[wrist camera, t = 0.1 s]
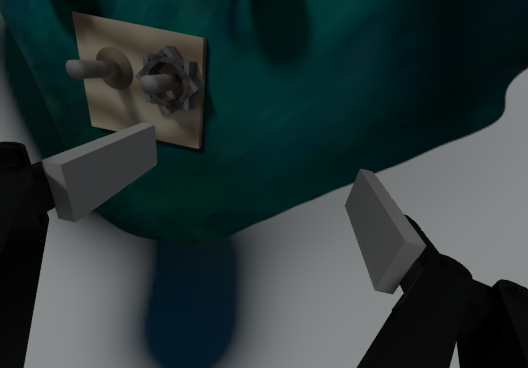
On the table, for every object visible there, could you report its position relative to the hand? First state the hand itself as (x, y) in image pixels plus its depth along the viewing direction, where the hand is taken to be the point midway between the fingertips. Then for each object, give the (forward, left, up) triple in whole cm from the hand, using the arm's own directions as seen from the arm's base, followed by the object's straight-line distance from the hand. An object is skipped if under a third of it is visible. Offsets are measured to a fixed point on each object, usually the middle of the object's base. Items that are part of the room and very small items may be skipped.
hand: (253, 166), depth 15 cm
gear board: (+2, -24, -28) cm, 37 cm away
